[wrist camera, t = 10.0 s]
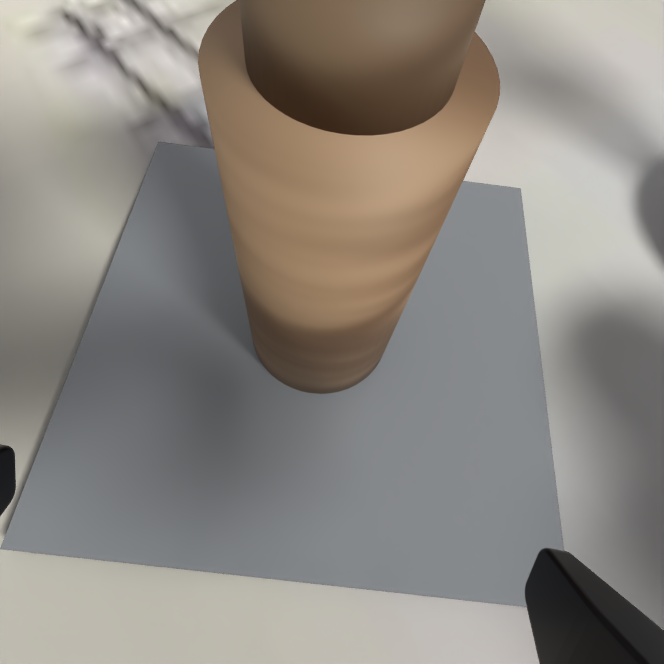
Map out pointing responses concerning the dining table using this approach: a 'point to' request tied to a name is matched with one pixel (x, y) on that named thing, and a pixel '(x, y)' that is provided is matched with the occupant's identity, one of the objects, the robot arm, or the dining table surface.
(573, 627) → the robot arm
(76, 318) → the dining table surface
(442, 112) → the pepper mill
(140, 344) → the slate tile
